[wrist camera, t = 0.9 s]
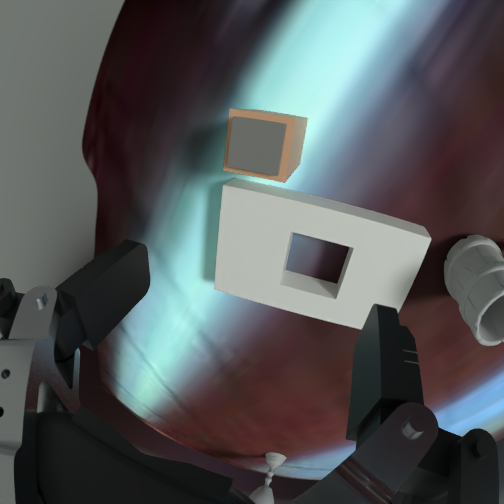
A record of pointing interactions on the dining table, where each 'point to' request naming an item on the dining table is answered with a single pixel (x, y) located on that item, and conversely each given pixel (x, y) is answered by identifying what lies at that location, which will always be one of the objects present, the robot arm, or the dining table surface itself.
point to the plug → (264, 143)
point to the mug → (478, 286)
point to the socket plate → (322, 227)
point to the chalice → (267, 480)
